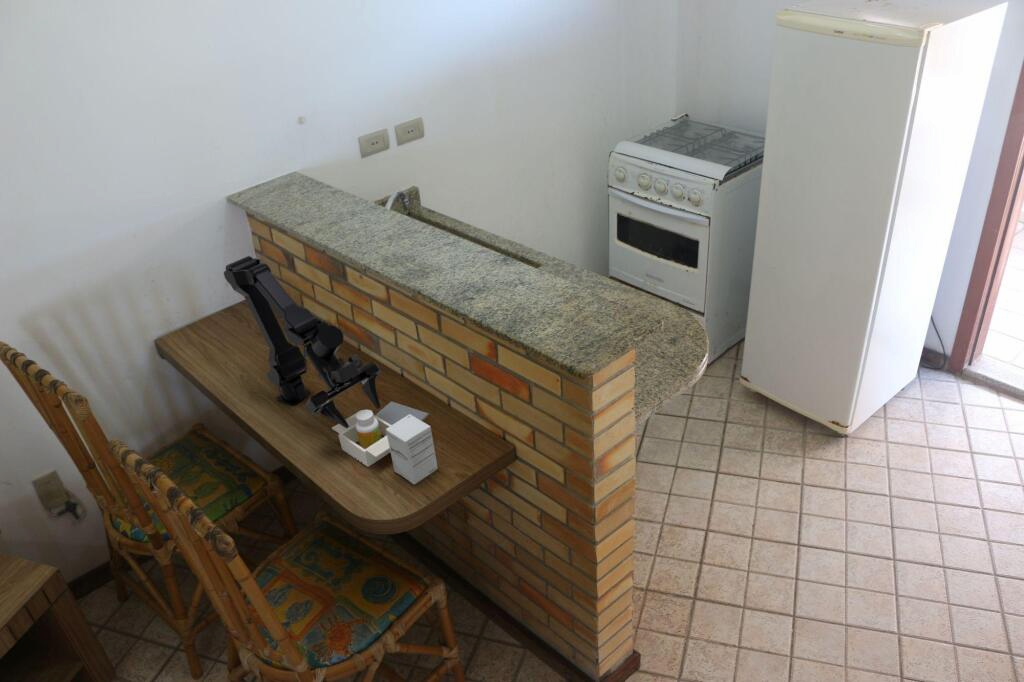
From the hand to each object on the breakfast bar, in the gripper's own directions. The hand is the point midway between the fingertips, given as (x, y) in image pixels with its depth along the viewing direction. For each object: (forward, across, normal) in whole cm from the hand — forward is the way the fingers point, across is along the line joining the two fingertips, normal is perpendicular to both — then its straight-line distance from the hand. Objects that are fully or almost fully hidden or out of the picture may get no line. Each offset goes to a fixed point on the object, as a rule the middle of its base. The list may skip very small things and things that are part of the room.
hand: (363, 417), depth 196 cm
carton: (+6, 0, +6) cm, 9 cm away
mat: (+4, +12, +8) cm, 15 cm away
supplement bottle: (+6, 0, +6) cm, 9 cm away
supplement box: (+17, +1, -5) cm, 18 cm away
